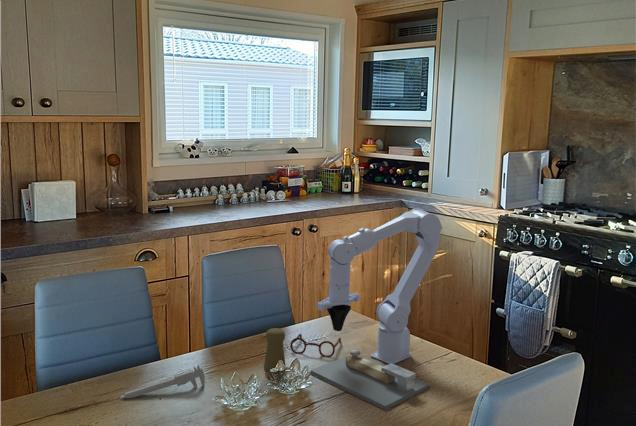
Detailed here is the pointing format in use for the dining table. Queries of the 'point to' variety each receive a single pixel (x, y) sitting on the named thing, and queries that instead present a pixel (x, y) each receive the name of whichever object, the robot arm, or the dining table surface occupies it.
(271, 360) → the cork
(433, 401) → the dining table surface
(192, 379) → the caliper
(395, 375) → the block
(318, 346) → the glasses
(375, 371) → the wooden link
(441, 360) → the dining table surface
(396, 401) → the charcoal board
